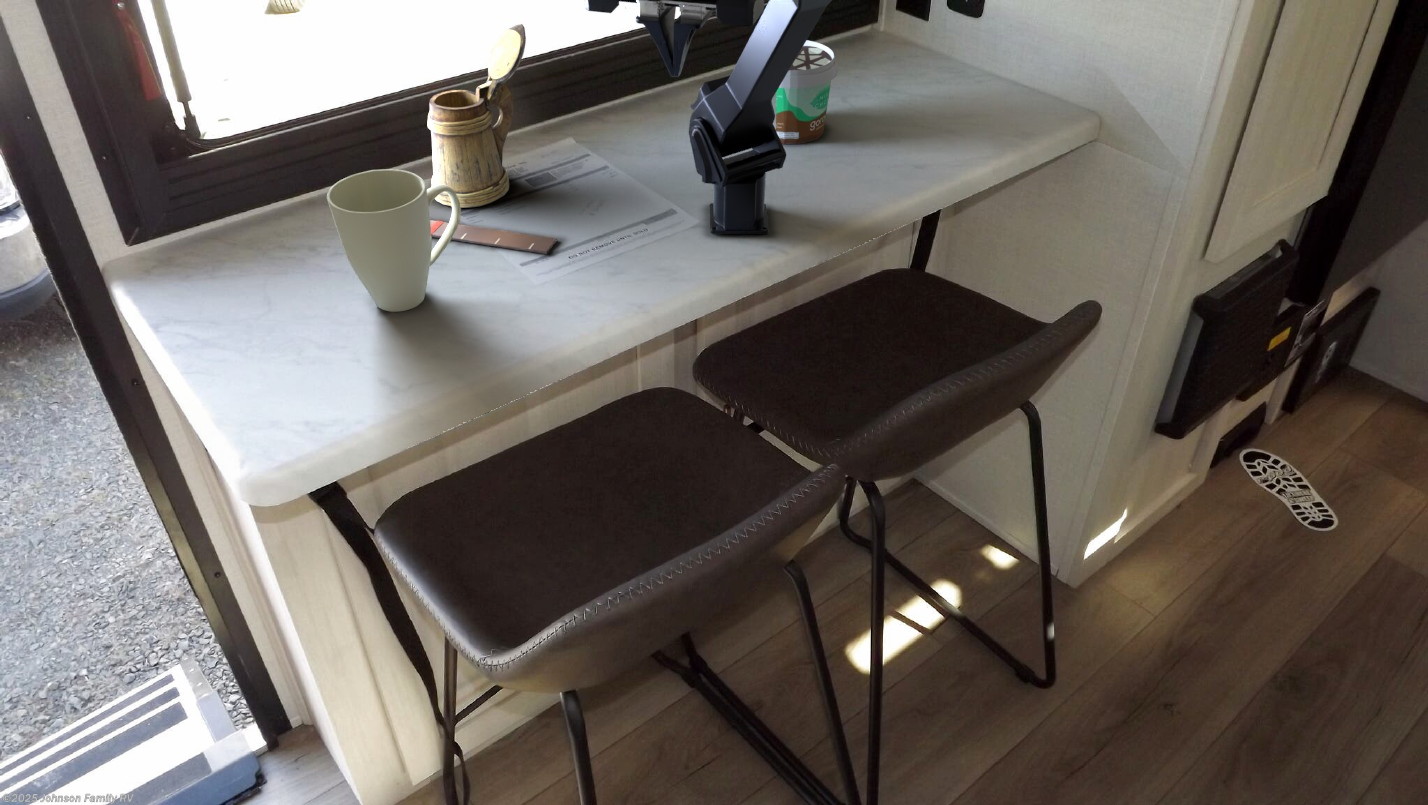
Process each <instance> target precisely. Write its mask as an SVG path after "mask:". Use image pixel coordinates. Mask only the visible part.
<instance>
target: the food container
mask: <svg viewBox="0 0 1428 805" xmlns="http://www.w3.org/2000/svg"><path fill="white" fill-rule="evenodd" d="M837 75H838V64H837V59H836V56H835V53H834V51H833V50H832V49H831V48H830V47H829V46H826V45H825V44H822V43H820V42H817V41H814V40H808V39H807V40H806V42H805V44H804V45H803V47H802V49H801V51H800V52H799V54H798V56H797V57H796V59H795V61H794V62H793V64H792V66H791V68H790V69H789V71H788V73H787V74H786V76H785V78H784V79H783V81H782V83H781V85H780V86H779V88H778V90H777V91H776V93H775V130H776V132H777V134H778V136H779V138H780V140H781V143H782V145H797V144H798V145H799V144H806V143H810V142H813V141H816V140H818V139H819V138H821V137H822V136H823V134H824V131H825V126H826V118H827V111H828V105H829V98H830V92H831V86H832V81H833V80H834V79H835V78H836V77H837Z"/></svg>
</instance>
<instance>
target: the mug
mask: <svg viewBox="0 0 1428 805" xmlns="http://www.w3.org/2000/svg"><path fill="white" fill-rule="evenodd" d="M442 192H447V193H448V194H449V196H450V199H451V203H452V206H451V216H450V219H449V222H448V223H449V224H448V226H447V228H446V230H445V232H444V233H443V235H442V237H441V238H439V240H438V241H437V243H436V244H435V246H434V247H433V242H432V241H433V240H432V238H433V237H431V225H430V220H431V218H430V206H431V204H432V203H433V201H434V200H435V198H436V197H437V196H438V195H439V194H440V193H442ZM326 200H327V203H328V206H329V209H330V213H331V215H332V219H333V222H334V225H335V227H336V228H335V229H336V231H337V234H338V236H339V240H340V244H341V245H342V248H343V251H344V254H345V255H346V259H347V260H348V263H349V264H350V266H351V268H352V269H353V271H354V273H355V275H356V276H357V278H358V279H359V281H360V283H361V284H362V285H363V287H364V288H365V290H366V291H367V293H368V294H369V296H370V297H371V299H372V301H373V302H374V303H375V305H376V306H377V307H378V308H379V309H381V310H382V311H386V312H392V313H394V312H395V313H396V312H397V313H398V312H404V311H408V310H411V309H412V310H413V309H414V308H416V307H418V306H419V305H420V304H422V302H424V300H425V298H426V291H427V285H428V280H429V279H428V278H429V273H430V267H432V265H434V263H436V261H437V260H438V259H439V258H440V257H441V255H442V253H443V252H445V250H446V248H447V246H448V245H449V244H450V243H451V241H452V240H451V239H452V237H453V236H454V234H455V232H456V230H457V228H458V225H459V224H460V223H461V222H460V221H461V216H462V207H460V202H459V199H458V196H457V194H456V193H455V191H454V190H453V189H452V188H450V187H449V186H447V185H444V184H438V185H435V186H432V185H431V186H430V187H429V188H427V183H426V182H425V180H424V179H423V178H422V177H421V176H420V175H419V174H417V173H414V172H411V171H408V170H402V169H395V168H394V169H393V168H392V169H391V168H385V169H384V168H383V169H382V168H381V169H371V170H366V171H363V172H358V173H355V174H351V175H349V176H347V177H345V178H343V179H340V180H339V181H337V182H336V183H334V184H333V185H332V186H331V187H330V188H329V190H328V191H327V194H326ZM432 247H433V248H432Z"/></svg>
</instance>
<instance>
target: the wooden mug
mask: <svg viewBox="0 0 1428 805" xmlns="http://www.w3.org/2000/svg"><path fill="white" fill-rule="evenodd" d="M526 40H527V37H526V29H525V27H524V25H523V23H520V24H517V25H516V24H515V25H514V26H512V27H509V29H507V30H506V31H504V32H503V33H502V34H500V35H499V37H498V38H497V40H496V41H495V43H494V45H493V47H492V50H491V51H490V54H489V58H488V63H487V64H488V65H487V69H488V70H487V80H486V81H485V83H482V84H481V85H478V86H476V88H475V91H471V90H466V89H451V90H446V91H442V92H439V93H436V94H434V95H433V96H432V97H431V98H430V99H429V112H428V115H427V129H429V130H430V134H431V150H432V151H431V152H432V153H431V154H432V172H433V175H432V176H431V187H432V186H435V185H438V184H444V185H447V186H449V187H450V188H452V189H453V190H454V191H455V193H456V194H457V196H458V199H459V202H460V207H461V208H476V207H482V206H485V205H488V204H491V203H493V202H495V201H497V200H499V199H501V198H502V197H504V196H505V195H506V194H507V193H508V191H509V190H510V180H509V178H510V177H509V174H508V172H507V169H506V168H505V167H504V165H503V152H504V150H503V149H504V146H505V142H506V139H507V137H508V134H509V131H510V129H511V125H512V121H513V119H514V108H515V106H514V100H513V96H512V93H511V91H510V90H509V88H508V87H507V85H506V84H505V83H506V82H507V81H508V80H510V79H511V78H512V77H513V75H514V74H515V73H516V71H517V69H518V68H519V66H520V64H521V62H522V59H523V56H524V54H525V49H526V42H527V41H526ZM492 105H493V106H495V107H496V108H497V109H498V110H499V117H498V120H497V122H496V123H495V124H494V125H493V126H492V122H493V111H492V110H491V109H489V108H488V107H490V106H492ZM434 200H435V201H436V202H438V203H440V204H442V205H445V206H449V207H452V203H451V199H450V196H449V194H448V193H447V192H442V193H440V194H439V195H438V196H437V197H436V198H435V199H434Z"/></svg>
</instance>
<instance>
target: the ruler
mask: <svg viewBox="0 0 1428 805" xmlns="http://www.w3.org/2000/svg"><path fill="white" fill-rule="evenodd" d="M448 224H449V222H446V221H441V220H431V219H430V225H431V237H432V238H436V239H440V238H441V237H442V235H443V233H444V232H445V230H446V228H447V226H448ZM450 241H455V242H463V243H470V244H476V245H482V246H489V247H496V248H504V249H510V250H515V251H516V250H517V251H523V252H528V253H529V252H530V253H537V254H544V255H547V254H548V253H549V252H550V250H551V249H552V248H553V247H554V245H556V243H557V242H558V238H557V237H556V238H555V237H549V236H542V235H536V234H529V233H521V232H515V231H508V230H501V229H494V228H487V227H481V226H474V225H466V224H460V223H459V225H458V228H457V230H456V232H455V234H454V236H453V237H452V239H451V240H450Z"/></svg>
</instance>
